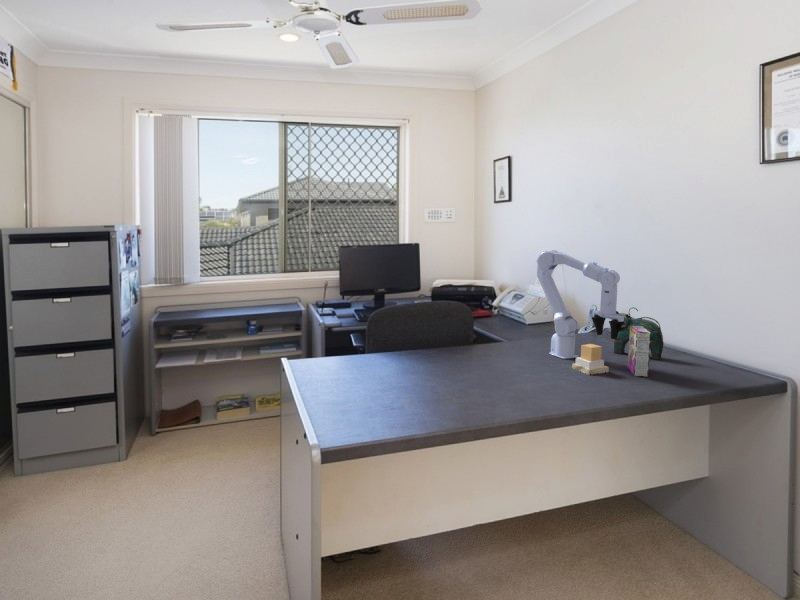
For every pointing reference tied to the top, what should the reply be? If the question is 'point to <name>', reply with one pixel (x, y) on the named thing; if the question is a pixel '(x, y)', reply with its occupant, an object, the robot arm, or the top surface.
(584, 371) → the maple base slab
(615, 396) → the top surface
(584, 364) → the off-white slab
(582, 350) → the tan cube
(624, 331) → the ceramic cat
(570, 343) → the robot arm
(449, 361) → the top surface
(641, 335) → the candy bar box
